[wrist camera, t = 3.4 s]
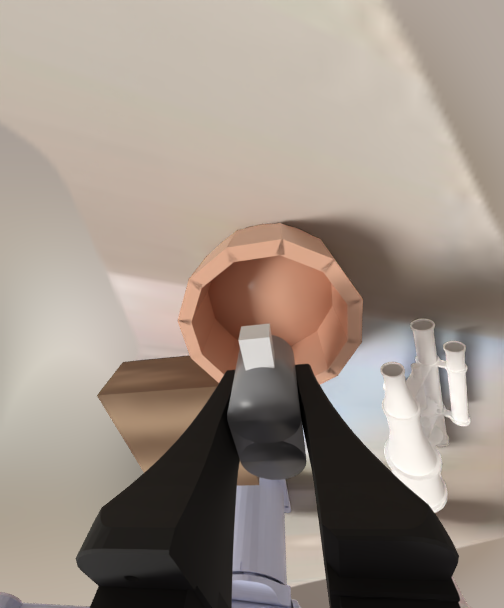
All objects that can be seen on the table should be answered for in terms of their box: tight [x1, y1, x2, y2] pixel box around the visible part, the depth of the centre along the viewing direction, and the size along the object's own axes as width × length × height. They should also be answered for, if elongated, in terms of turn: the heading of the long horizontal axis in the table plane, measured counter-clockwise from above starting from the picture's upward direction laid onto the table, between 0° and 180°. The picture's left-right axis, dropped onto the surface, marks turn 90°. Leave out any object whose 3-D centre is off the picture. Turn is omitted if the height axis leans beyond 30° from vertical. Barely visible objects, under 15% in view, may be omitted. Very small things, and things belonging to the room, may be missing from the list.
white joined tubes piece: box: [381, 318, 471, 513], centre depth 20 cm, size 8×14×5 cm
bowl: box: [178, 223, 363, 385], centre depth 17 cm, size 11×11×5 cm
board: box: [97, 356, 260, 486], centre depth 24 cm, size 13×11×4 cm
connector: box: [227, 323, 306, 480], centre depth 11 cm, size 6×3×3 cm, turn 10°
